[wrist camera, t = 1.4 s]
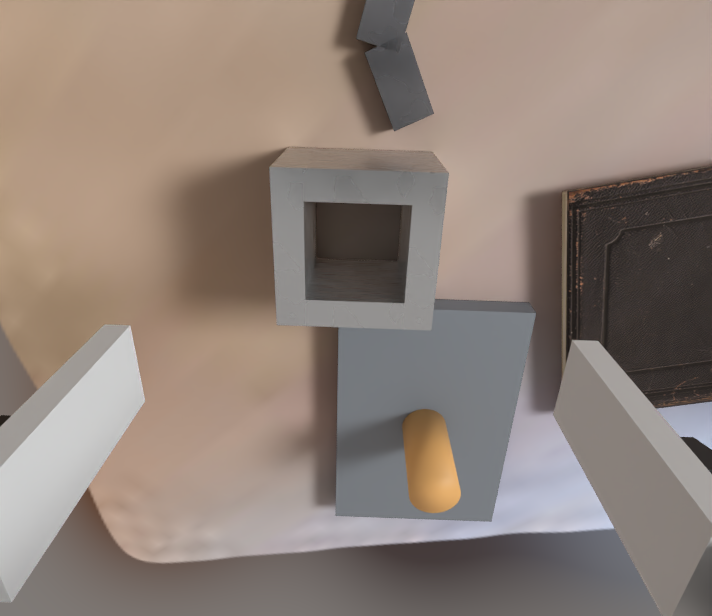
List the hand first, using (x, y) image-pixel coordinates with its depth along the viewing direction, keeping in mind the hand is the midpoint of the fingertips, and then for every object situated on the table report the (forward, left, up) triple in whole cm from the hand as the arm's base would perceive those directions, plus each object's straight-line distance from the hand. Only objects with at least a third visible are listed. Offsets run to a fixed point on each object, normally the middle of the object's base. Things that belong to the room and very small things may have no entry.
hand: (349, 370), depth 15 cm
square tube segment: (0, 0, -16) cm, 16 cm away
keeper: (+14, +5, -16) cm, 22 cm away
